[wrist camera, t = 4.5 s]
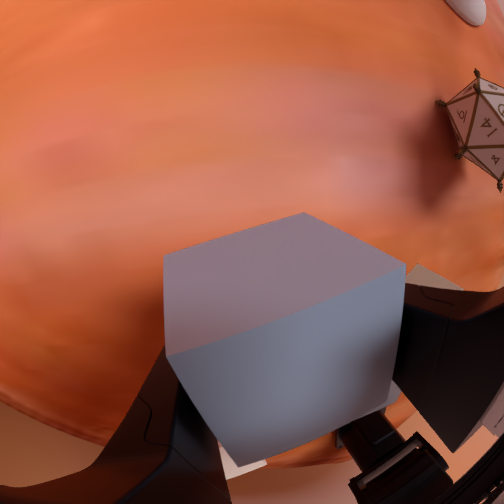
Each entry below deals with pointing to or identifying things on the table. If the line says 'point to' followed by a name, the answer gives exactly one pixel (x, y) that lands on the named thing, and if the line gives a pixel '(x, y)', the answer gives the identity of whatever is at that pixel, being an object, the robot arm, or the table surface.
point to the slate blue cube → (282, 332)
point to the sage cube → (429, 278)
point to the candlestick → (470, 10)
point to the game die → (479, 125)
